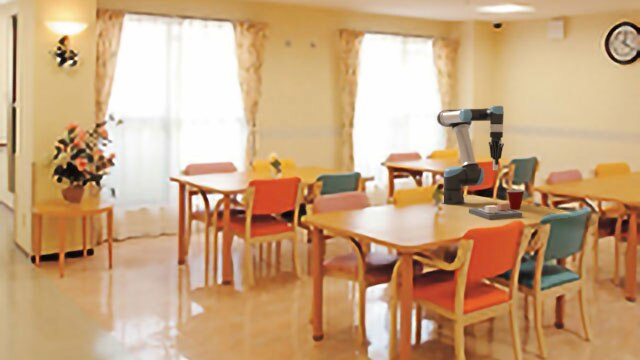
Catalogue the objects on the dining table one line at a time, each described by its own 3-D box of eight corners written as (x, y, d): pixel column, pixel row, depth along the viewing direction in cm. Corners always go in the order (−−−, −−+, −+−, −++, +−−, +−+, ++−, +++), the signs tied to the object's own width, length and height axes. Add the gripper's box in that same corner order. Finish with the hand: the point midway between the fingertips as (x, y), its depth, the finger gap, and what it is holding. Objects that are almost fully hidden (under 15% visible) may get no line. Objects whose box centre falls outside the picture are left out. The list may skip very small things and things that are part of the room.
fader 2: (497, 208, 383) (497, 203, 383) (505, 208, 385) (506, 202, 385) (501, 210, 380) (501, 204, 379) (509, 209, 382) (510, 203, 381)
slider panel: (468, 212, 388) (468, 208, 387) (500, 210, 394) (500, 205, 394) (489, 219, 367) (489, 214, 367) (522, 217, 374) (522, 212, 373)
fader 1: (484, 211, 375) (484, 205, 374) (493, 211, 376) (493, 205, 376) (488, 213, 371) (488, 207, 370) (497, 212, 373) (497, 206, 372)
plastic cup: (513, 206, 406) (514, 188, 405) (527, 209, 397) (528, 190, 396) (501, 208, 400) (502, 189, 399) (515, 211, 391) (516, 191, 390)
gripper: (485, 130, 397) (484, 169, 401) (497, 132, 385) (496, 171, 388) (495, 130, 400) (494, 168, 403) (508, 131, 387) (506, 170, 391)
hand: (495, 169), depth 396 cm, fingers closed
